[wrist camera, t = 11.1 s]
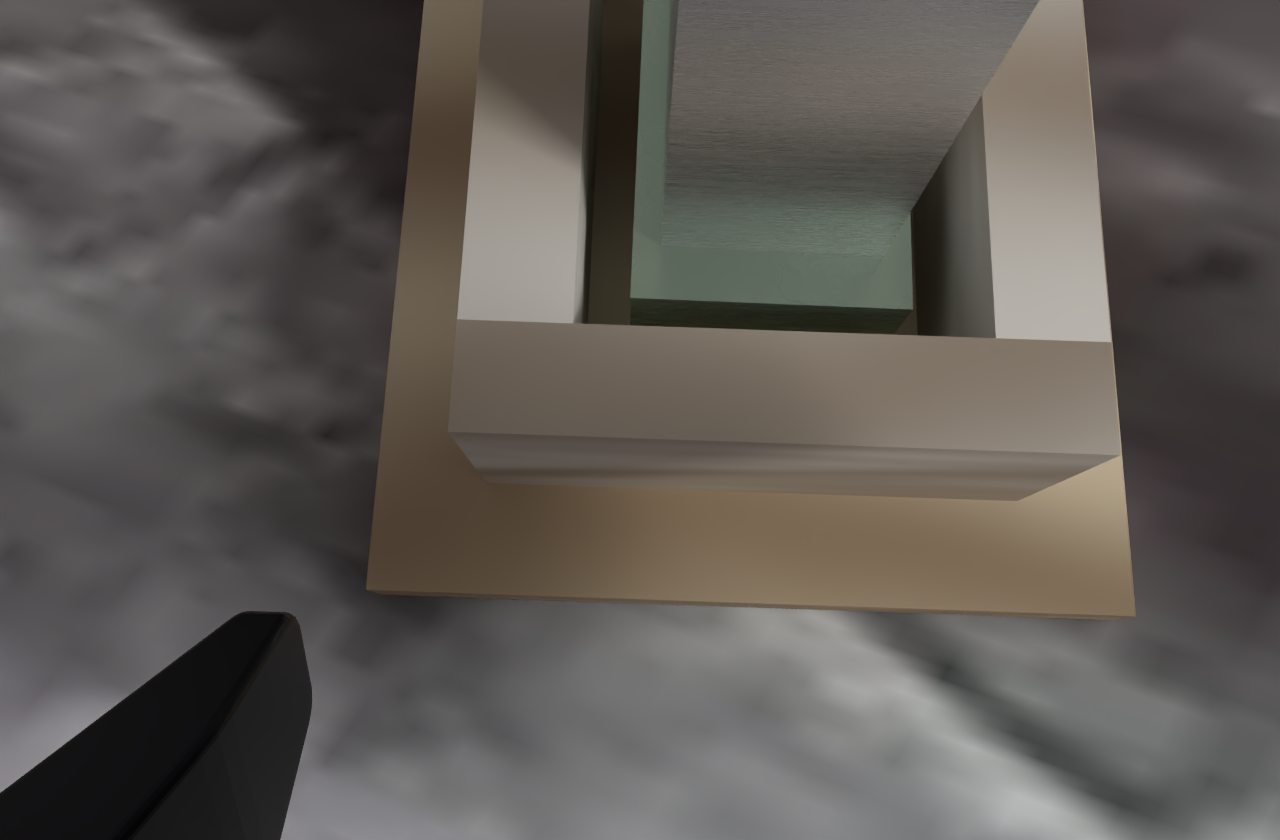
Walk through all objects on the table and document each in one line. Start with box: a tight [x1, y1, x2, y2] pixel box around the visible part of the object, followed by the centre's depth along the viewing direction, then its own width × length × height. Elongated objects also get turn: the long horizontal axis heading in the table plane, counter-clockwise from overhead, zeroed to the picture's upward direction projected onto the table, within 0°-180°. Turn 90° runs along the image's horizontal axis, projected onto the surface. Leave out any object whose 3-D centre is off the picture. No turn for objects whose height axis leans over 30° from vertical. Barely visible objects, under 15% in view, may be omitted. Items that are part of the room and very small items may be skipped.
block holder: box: [366, 0, 1136, 620], centre depth 16 cm, size 14×12×4 cm
